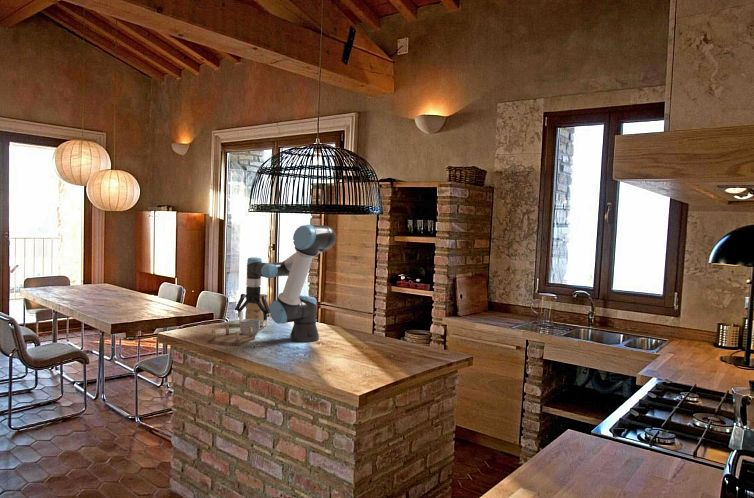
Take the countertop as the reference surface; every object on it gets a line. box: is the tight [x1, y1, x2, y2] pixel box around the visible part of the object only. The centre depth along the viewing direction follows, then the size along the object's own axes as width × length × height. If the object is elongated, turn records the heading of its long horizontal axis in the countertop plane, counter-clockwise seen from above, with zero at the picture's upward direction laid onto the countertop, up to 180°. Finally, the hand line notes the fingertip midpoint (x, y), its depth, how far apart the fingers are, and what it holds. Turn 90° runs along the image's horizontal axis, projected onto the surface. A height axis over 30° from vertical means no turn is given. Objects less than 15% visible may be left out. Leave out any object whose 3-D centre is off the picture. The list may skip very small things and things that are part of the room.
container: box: [244, 293, 269, 328], centre depth 324 cm, size 13×13×18 cm
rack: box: [207, 324, 256, 347], centre depth 283 cm, size 17×17×6 cm
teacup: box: [239, 319, 266, 336], centre depth 300 cm, size 14×11×8 cm
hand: (252, 324), depth 300 cm, fingers open, 13 cm apart
